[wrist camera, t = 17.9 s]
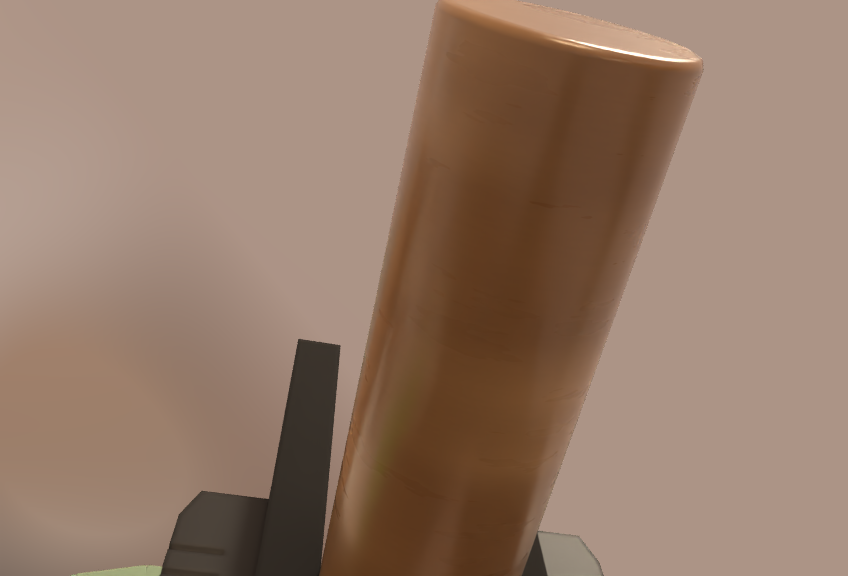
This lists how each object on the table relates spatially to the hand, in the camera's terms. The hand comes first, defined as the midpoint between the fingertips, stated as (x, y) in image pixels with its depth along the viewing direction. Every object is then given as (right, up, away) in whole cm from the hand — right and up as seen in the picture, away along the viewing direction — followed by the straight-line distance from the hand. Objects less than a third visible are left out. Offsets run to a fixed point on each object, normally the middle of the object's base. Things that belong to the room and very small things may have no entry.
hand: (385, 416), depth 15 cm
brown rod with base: (-2, -11, -1) cm, 11 cm away
